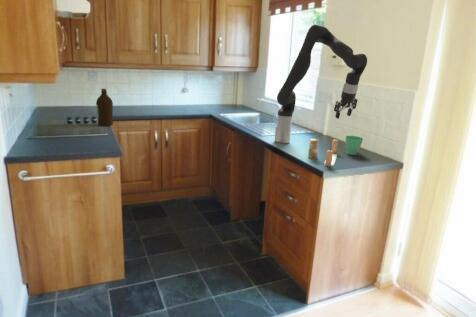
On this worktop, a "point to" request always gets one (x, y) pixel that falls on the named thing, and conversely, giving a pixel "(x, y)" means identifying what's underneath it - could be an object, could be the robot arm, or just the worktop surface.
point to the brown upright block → (313, 148)
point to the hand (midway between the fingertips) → (342, 116)
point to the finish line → (331, 154)
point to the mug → (353, 144)
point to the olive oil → (104, 109)
